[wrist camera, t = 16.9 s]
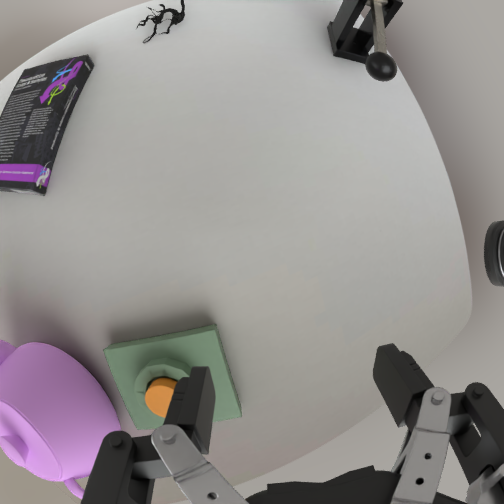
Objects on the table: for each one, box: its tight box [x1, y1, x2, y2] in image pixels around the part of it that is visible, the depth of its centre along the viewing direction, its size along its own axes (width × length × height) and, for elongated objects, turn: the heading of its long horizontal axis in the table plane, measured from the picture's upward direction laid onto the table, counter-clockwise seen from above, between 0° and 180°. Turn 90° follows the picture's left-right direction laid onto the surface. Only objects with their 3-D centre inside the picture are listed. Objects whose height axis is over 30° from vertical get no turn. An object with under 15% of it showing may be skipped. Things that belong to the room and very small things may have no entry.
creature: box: [136, 0, 185, 43], centre depth 24 cm, size 8×5×8 cm
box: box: [0, 54, 94, 196], centre depth 23 cm, size 14×4×20 cm
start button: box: [145, 378, 177, 418], centre depth 21 cm, size 4×4×2 cm
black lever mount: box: [327, 0, 403, 64], centre depth 22 cm, size 7×6×13 cm
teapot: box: [0, 340, 121, 499], centre depth 17 cm, size 25×18×14 cm
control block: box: [103, 324, 242, 430], centre depth 23 cm, size 12×10×4 cm
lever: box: [365, 0, 397, 81], centre depth 19 cm, size 14×4×4 cm, turn 179°
